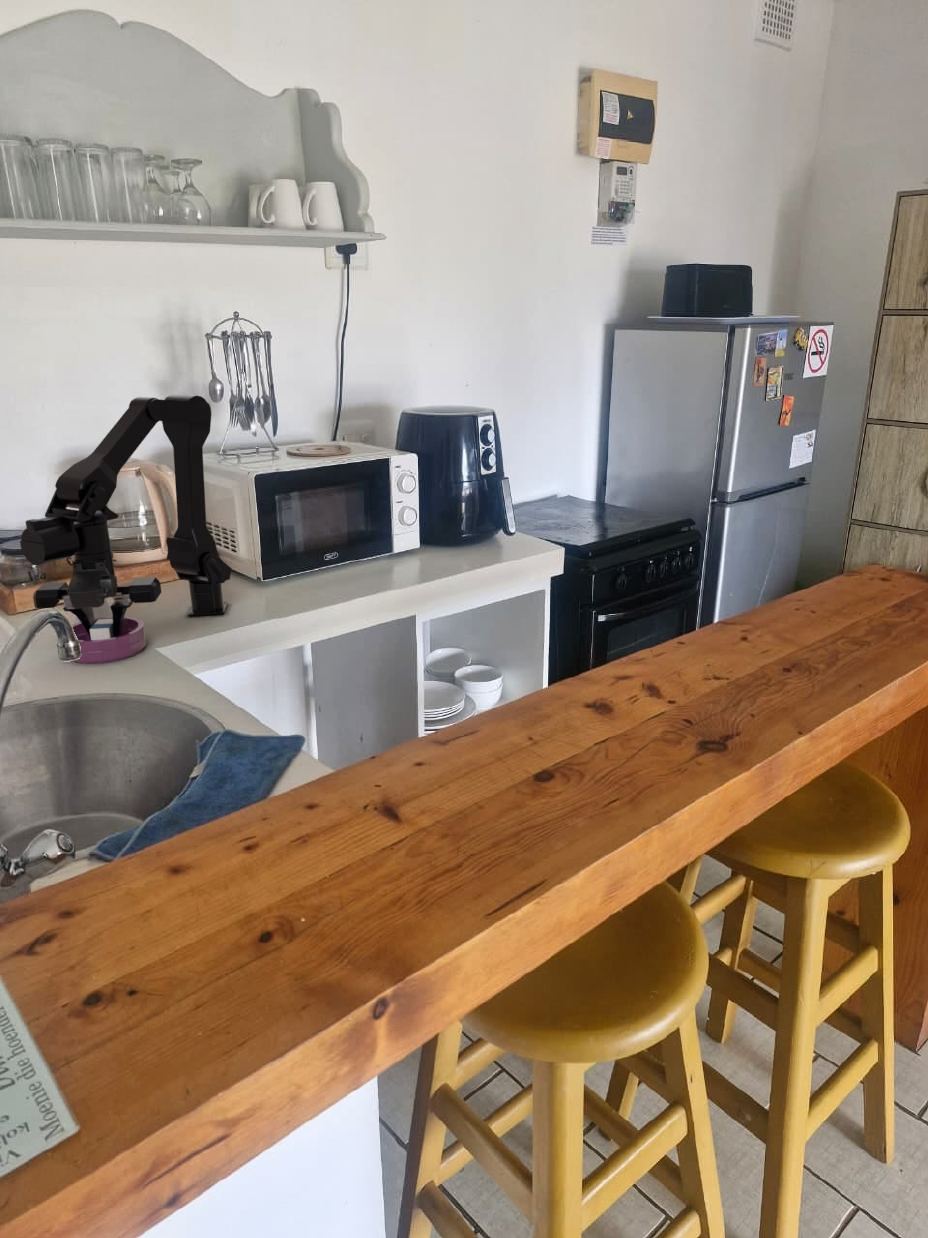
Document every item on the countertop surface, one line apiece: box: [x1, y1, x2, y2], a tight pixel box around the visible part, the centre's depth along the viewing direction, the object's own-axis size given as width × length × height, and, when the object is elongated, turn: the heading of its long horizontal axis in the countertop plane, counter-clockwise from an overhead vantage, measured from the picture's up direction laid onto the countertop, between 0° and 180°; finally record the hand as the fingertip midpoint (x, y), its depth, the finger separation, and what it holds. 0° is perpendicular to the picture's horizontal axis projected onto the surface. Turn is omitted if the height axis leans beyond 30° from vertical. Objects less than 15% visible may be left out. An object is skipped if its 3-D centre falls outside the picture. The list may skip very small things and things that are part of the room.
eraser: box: [90, 619, 114, 640], centre depth 144 cm, size 6×3×4 cm, turn 8°
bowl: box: [72, 616, 147, 665], centre depth 144 cm, size 13×13×4 cm
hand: (106, 641), depth 145 cm, fingers closed on eraser, 3 cm apart
